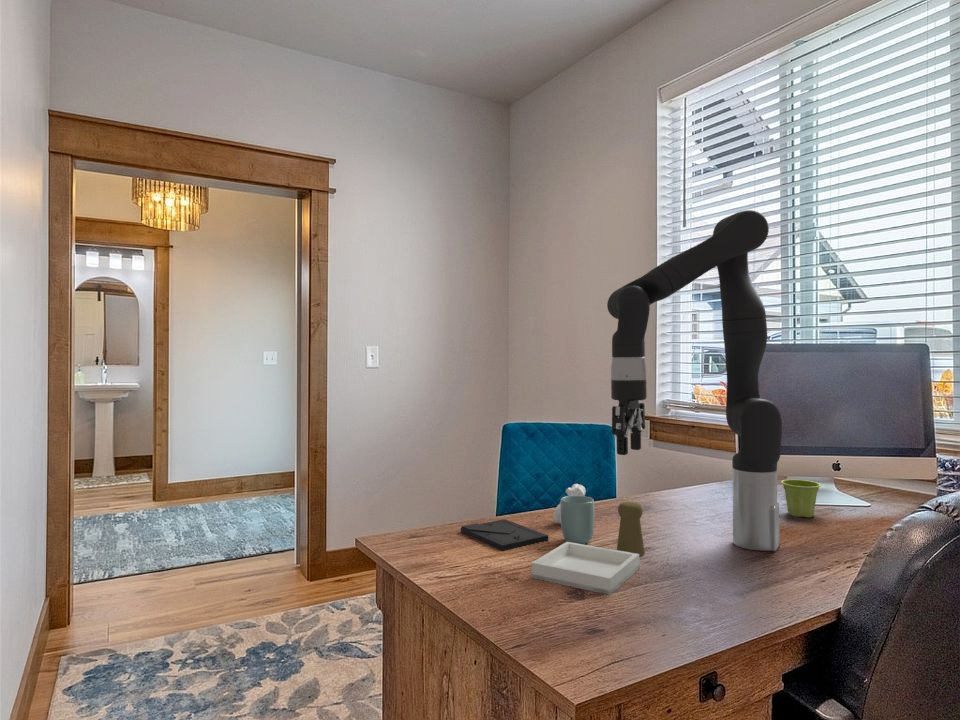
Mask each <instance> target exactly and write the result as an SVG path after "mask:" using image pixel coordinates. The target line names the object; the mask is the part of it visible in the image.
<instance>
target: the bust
mask: <svg viewBox="0 0 960 720" xmlns="http://www.w3.org/2000/svg"><path fill="white" fill-rule="evenodd" d="M586 492H587V491H586V488H585V486H583V485H582V484H578V483H574V484H572V485H571V487H567V488H566V489H565V493H566V494H567V496H585V495H586ZM553 520H554V522H555V523H556V524H561V516H560V503H559V504H558V505H557V506H556V508H555V510H554V512H553Z"/></svg>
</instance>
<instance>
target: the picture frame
mask: <svg viewBox="0 0 960 720" xmlns="http://www.w3.org/2000/svg"><path fill="white" fill-rule="evenodd" d="M460 533H461V534H463V535H465V536H468V537H469V538H472V539H474V540H476V541H478V542H481V543H484V544H486V545H487V544H488V545H487V546H490V547H493V548H495V549H497V550H499V551H502V552H504V551H505V550H506V551H510V550H514V548H515V549H519V548H523V547H522V546H524V547H527V545H528V546H532V545H531V544H533V545H536V544H535V543H537V544H540V543H539V542H542V543H545V542H544V541H546V542H549V534H546V533H542V532H541V531H537V530H534V529H532V528H530V527H526V526H524V525H522V524H519V523H516V522H514V521H512V520H508V519H498V520H493V521H488V522H482V523H472V524H465V525H461V527H460ZM518 547H519V548H518ZM506 551H505V552H506Z"/></svg>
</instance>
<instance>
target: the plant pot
mask: <svg viewBox="0 0 960 720" xmlns="http://www.w3.org/2000/svg"><path fill="white" fill-rule="evenodd" d="M781 484H782V487H783V490H784V494H785V502H786V507H787V508H786V509H787V513H788V514H789V516H793V517H796V518H803V517H805V518H809V519H810V518H812V517H814V514H815V507H816V502H817V496H818V495H817V494H818V492H819V490H820V487H821V485H822V484H821V483H819V482H816V481H811V480H807V479H783V480H781Z"/></svg>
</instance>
